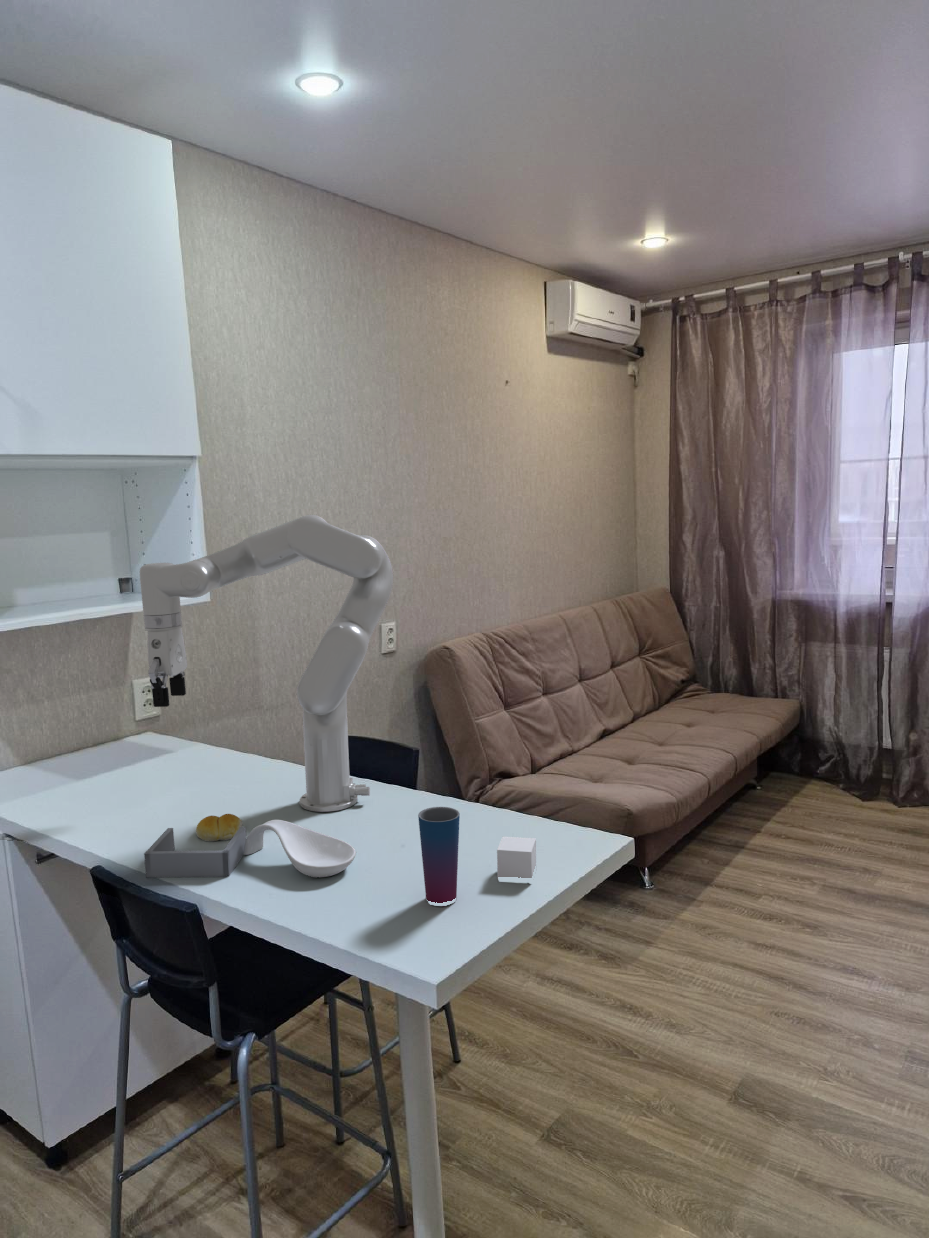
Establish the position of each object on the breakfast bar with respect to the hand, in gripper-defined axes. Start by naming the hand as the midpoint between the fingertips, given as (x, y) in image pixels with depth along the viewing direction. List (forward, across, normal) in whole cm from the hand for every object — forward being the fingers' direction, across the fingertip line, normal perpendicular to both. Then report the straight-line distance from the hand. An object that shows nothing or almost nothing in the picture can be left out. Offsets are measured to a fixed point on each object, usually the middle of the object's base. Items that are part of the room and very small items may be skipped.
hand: (170, 700), depth 187 cm
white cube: (+26, -34, -72) cm, 84 cm away
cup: (+26, -43, -60) cm, 78 cm away
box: (+24, -28, -13) cm, 39 cm away
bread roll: (+25, -14, -13) cm, 31 cm away
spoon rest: (+25, -28, -32) cm, 50 cm away
